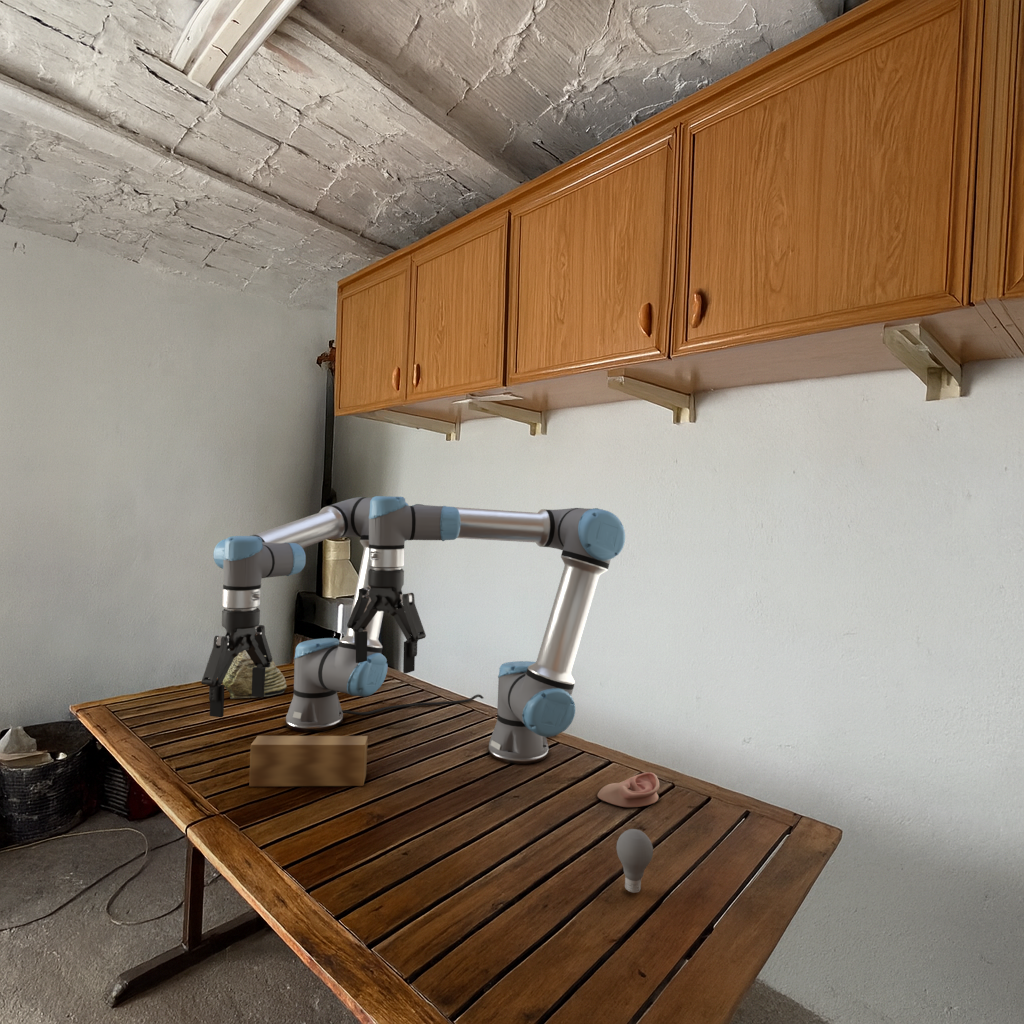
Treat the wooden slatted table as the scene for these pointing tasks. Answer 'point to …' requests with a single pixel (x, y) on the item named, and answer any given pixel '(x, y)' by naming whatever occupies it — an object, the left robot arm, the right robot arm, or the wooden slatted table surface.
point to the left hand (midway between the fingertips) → (238, 706)
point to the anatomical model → (632, 791)
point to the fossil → (241, 678)
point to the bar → (308, 761)
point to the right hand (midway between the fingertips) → (384, 666)
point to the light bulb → (634, 857)
